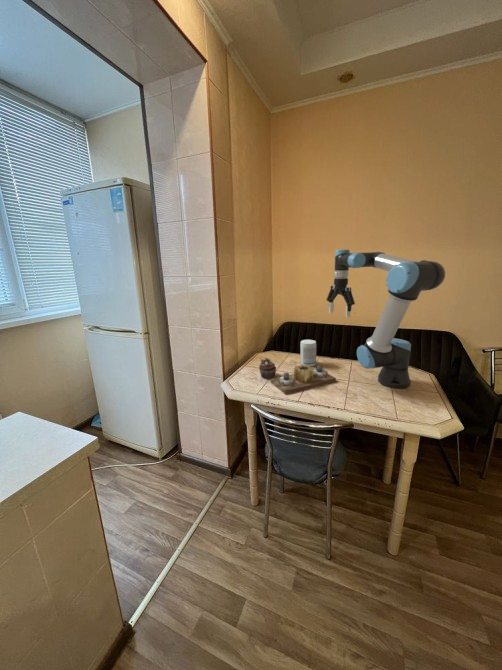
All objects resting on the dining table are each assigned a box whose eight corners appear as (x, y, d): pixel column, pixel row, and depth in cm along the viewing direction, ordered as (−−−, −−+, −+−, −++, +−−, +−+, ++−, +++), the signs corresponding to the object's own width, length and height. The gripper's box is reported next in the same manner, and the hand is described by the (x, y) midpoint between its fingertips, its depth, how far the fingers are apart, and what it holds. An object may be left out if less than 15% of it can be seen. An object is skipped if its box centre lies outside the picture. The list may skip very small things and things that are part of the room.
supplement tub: (319, 364, 172) (320, 341, 168) (308, 368, 167) (308, 345, 163) (307, 360, 180) (308, 338, 176) (296, 363, 175) (297, 341, 171)
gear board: (335, 381, 149) (336, 369, 147) (285, 394, 137) (285, 381, 135) (318, 371, 162) (318, 360, 160) (271, 382, 150) (270, 370, 148)
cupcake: (270, 381, 152) (270, 363, 150) (256, 377, 158) (255, 360, 155) (279, 374, 160) (279, 358, 157) (265, 371, 165) (265, 355, 163)
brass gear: (316, 380, 147) (317, 369, 145) (300, 384, 143) (301, 373, 141) (305, 373, 155) (306, 363, 154) (290, 376, 152) (290, 366, 150)
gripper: (321, 277, 167) (320, 312, 173) (352, 279, 146) (350, 319, 151) (331, 276, 170) (329, 310, 176) (363, 278, 149) (360, 317, 154)
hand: (339, 314), depth 164 cm, fingers open, 13 cm apart
